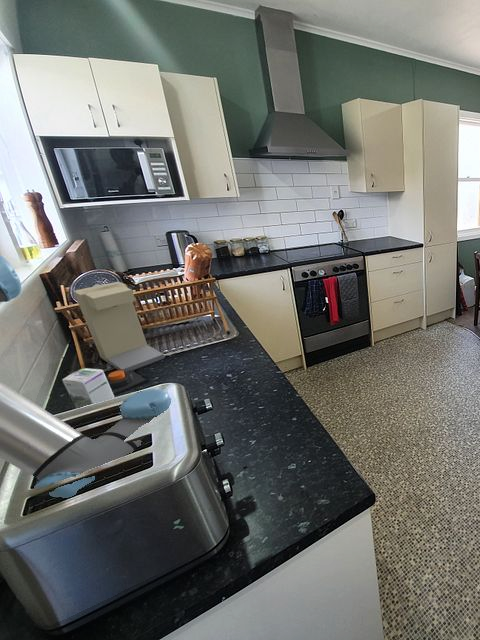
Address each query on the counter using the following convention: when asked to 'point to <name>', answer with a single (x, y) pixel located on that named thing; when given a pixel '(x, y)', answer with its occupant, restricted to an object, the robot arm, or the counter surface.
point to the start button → (116, 375)
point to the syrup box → (87, 387)
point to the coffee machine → (116, 326)
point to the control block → (126, 382)
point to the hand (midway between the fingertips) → (105, 404)
